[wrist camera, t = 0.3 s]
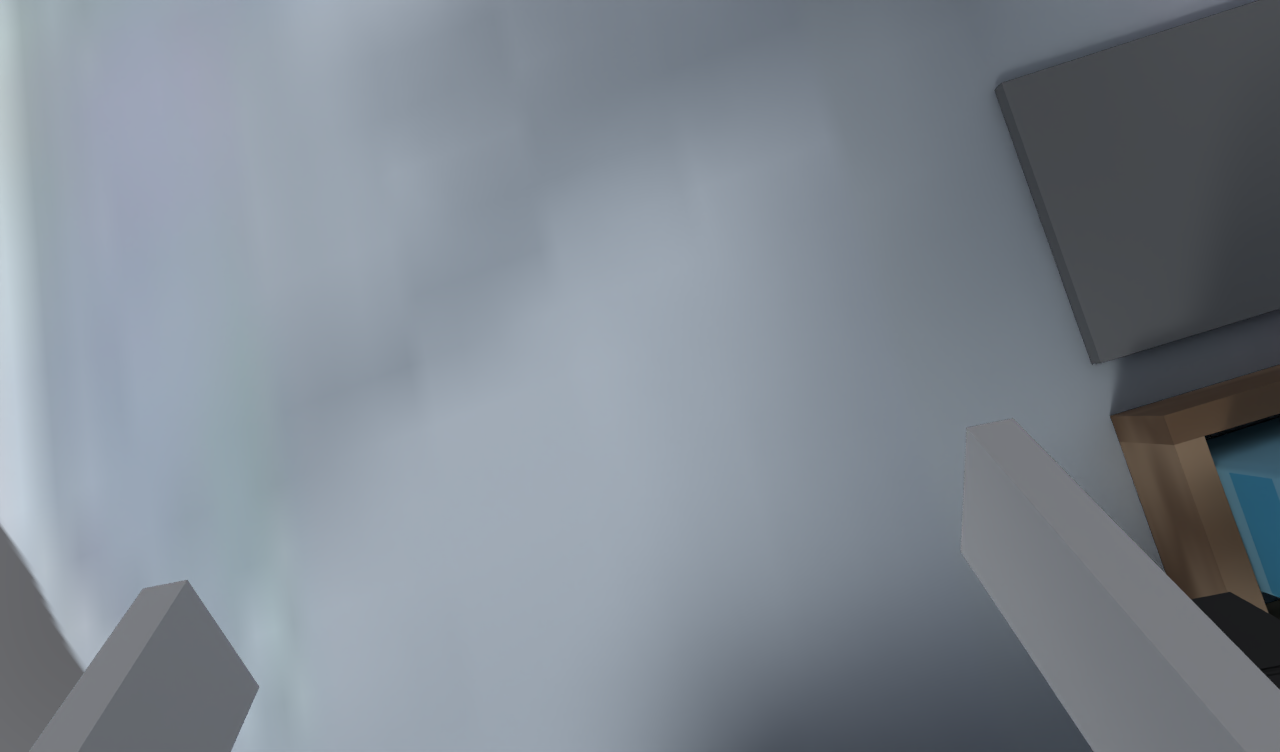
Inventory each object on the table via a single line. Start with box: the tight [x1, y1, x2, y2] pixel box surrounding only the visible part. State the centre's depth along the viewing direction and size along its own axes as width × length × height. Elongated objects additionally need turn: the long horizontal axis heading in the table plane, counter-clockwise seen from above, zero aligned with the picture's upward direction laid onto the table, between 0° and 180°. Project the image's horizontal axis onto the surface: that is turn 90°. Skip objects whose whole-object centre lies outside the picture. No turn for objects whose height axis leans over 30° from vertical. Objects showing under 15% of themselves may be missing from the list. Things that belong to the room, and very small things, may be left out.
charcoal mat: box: [995, 0, 1280, 364], centre depth 27 cm, size 11×16×1 cm
